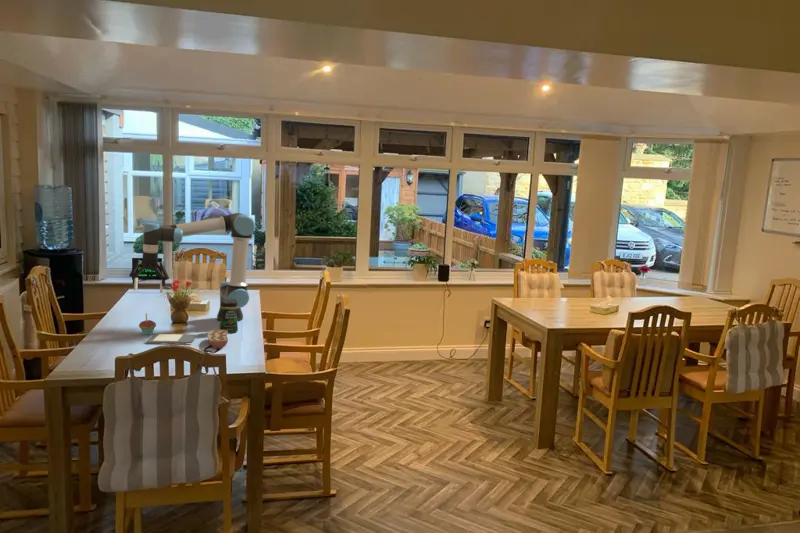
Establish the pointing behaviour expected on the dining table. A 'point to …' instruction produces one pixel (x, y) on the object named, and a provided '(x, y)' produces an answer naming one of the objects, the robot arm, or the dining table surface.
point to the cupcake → (147, 326)
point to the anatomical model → (218, 338)
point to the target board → (170, 338)
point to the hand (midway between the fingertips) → (148, 291)
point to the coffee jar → (229, 315)
